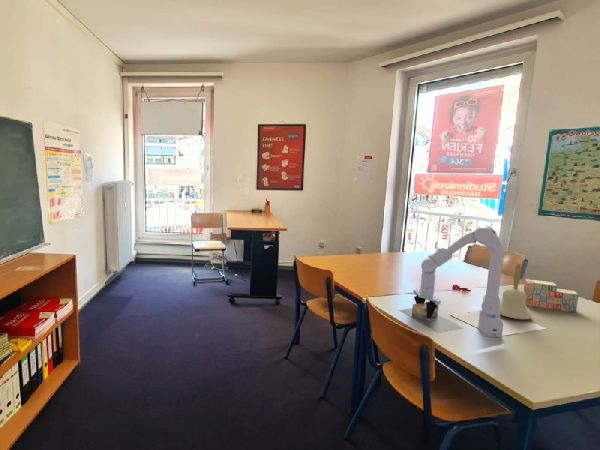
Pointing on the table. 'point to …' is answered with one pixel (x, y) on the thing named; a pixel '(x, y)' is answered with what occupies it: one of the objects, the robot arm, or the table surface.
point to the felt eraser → (422, 311)
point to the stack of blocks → (549, 296)
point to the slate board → (434, 322)
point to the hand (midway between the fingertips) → (424, 314)
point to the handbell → (515, 300)
